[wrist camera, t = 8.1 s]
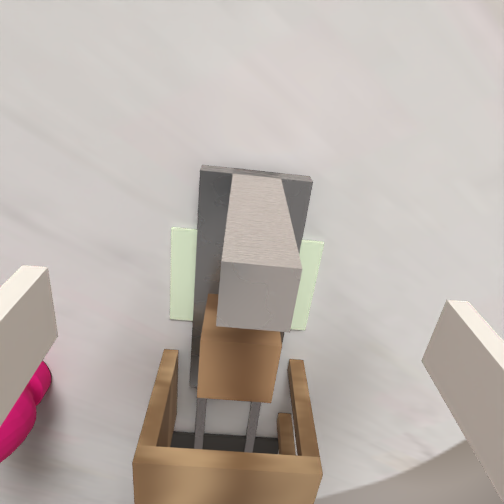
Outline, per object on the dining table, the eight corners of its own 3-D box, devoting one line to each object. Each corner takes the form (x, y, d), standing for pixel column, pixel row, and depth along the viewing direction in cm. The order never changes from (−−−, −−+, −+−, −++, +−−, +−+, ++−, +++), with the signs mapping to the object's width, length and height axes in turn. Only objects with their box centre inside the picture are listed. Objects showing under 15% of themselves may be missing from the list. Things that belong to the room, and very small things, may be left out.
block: (204, 346, 30) (196, 397, 26) (208, 293, 28) (200, 339, 24) (267, 351, 31) (271, 402, 26) (276, 299, 28) (281, 346, 24)
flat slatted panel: (168, 475, 41) (167, 477, 41) (168, 431, 38) (168, 434, 38) (270, 481, 42) (271, 483, 42) (280, 438, 39) (280, 441, 38)
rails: (192, 479, 42) (191, 483, 41) (210, 197, 27) (209, 200, 26) (246, 482, 42) (246, 487, 42) (293, 206, 27) (294, 208, 27)
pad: (170, 316, 31) (169, 319, 31) (172, 227, 28) (171, 228, 27) (304, 328, 32) (305, 330, 32) (323, 241, 28) (324, 243, 28)
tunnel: (163, 413, 37) (136, 532, 28) (164, 349, 33) (132, 462, 24) (289, 422, 37) (301, 541, 28) (303, 360, 34) (322, 474, 25)
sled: (191, 376, 33) (164, 532, 23) (202, 164, 25) (166, 256, 14) (272, 382, 34) (282, 539, 23) (310, 176, 25) (355, 273, 14)
